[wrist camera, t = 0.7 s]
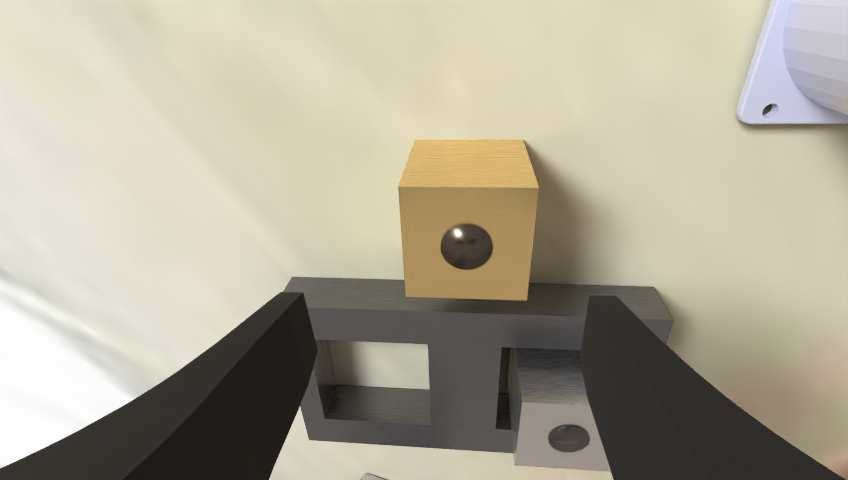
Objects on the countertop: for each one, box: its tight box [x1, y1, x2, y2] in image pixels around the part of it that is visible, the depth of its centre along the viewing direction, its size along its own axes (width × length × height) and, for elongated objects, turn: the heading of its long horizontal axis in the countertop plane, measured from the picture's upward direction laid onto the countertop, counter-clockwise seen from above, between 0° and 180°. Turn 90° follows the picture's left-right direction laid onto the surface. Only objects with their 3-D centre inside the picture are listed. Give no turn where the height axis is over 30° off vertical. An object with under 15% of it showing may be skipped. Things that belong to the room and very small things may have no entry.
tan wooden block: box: [398, 140, 539, 301], centre depth 17 cm, size 4×4×5 cm
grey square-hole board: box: [283, 277, 673, 453], centre depth 23 cm, size 18×10×2 cm, turn 92°
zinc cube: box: [507, 348, 611, 471], centre depth 22 cm, size 4×4×5 cm
